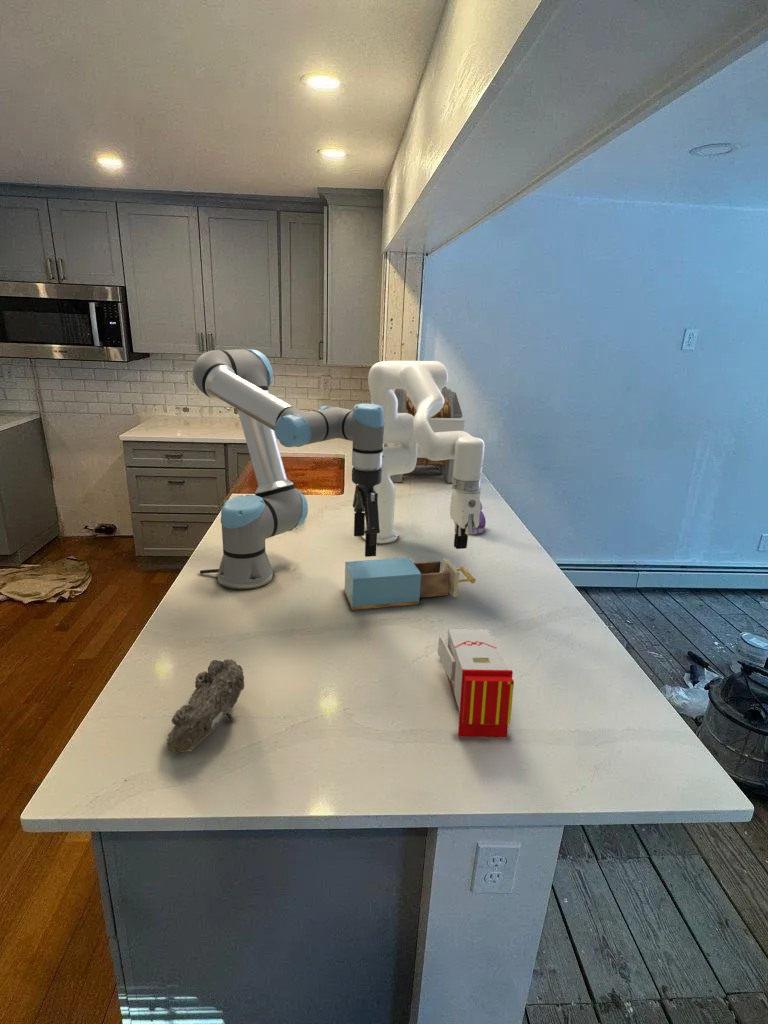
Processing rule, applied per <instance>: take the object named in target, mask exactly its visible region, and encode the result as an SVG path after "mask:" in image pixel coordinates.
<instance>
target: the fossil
mask: <svg viewBox="0 0 768 1024" xmlns="http://www.w3.org/2000/svg"><path fill="white" fill-rule="evenodd" d="M243 670H244V669H243V667H242V665H240V664H237V662H236V661H235V660H234V659H232V658H231V659H227V658H226V659H224V660H223V661H222V660H217V659H212V660H211V661H210V663H209V665H208V666H207V671H201V672H199V673H198V674H197V675H196V676H195V680H194V684H195V685H194V687H195V689H194V690H193V693H192V694H191V697H190V698H189V700H188V704H184V705H182V706H181V707H180V709H177V710H176V711H175V713H174V715H173V716H172V718H171V723H172V724H173V727H172V730H171V731H170V732H168V734H167V738H166V741H167V742H166V745H167V749H168V750H169V751H173V752H174V753H176V754H178V753H182V752H188V751H189V752H192V751H193V750H195V748H196V747H197V746H199V744H200V743H201V742H203V741H204V740H205V739H206V738H207V737H208V736H209V735H210V734H211V733H212V732H214V730H215V729H217V727H218V726H219V724H220V722H221V721H222V720H223V719H224V718H225V716H226V717H227V719H229V720H233V717H232V715H230V714H229V710H230V709H231V708H234V706H235V704H236V703H237V702H238V699H239V697H240V695H241V693H242V691H243V690H245V689H244V688H245V675H244V671H243Z"/></svg>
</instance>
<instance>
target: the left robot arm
mask: <svg viewBox="0 0 768 1024" xmlns="http://www.w3.org/2000/svg"><path fill="white" fill-rule="evenodd" d="M273 377H274V373H273V367H272V364H271V361H270V360H269V359H268V357H267V356H266V355H265V354H264V353H263V352H261V351H259V350H257V349H249V348H239V349H238V348H237V349H213V350H209V351H205V352H204V353H202V354H201V355H200V356H198V358H197V359H196V361H195V363H194V365H193V367H192V378H193V379H192V380H193V381H194V384H195V385H196V387H197V389H198V390H199V391H200V392H201V393H203V394H204V395H205V396H207V397H208V398H210V399H212V400H215V401H223V402H224V403H226V404H228V405H229V406H231V407H233V408H234V409H236V410H237V413H238V416H239V417H238V418H239V420H240V424H241V427H242V431H243V436H244V438H245V442H246V447H247V450H248V453H249V456H250V457H249V458H250V461H251V464H252V468H253V471H254V472H253V473H254V476H255V479H256V483H257V488H256V490H255V491H254V494H246V495H238V496H234V497H232V498H230V499H228V500H226V501H225V502H224V503H223V505H222V507H221V510H220V525H221V539H222V553H223V554H222V558H221V560H220V565H219V568H213V569H211V568H209V569H201V570H200V571H199V574H201V575H202V574H203V575H204V574H214V573H217V581H218V583H219V584H220V585H221V586H223V587H224V588H228V589H231V590H253V589H257V588H260V587H263V586H265V585H267V584H268V583H270V582H271V581H272V579H273V576H274V575H273V573H274V572H273V567H272V564H271V562H270V559H269V557H268V554H267V552H266V551H267V550H266V540H267V539H270V538H272V537H275V536H279V535H280V534H281V535H282V534H283V533H287V532H292V531H293V530H295V529H297V528H300V527H301V526H302V525H304V523H305V522H306V519H307V517H308V514H309V505H308V501H307V497H306V495H305V494H303V492H302V491H301V490H299V489H297V488H296V487H295V484H294V482H292V481H291V480H289V479H288V477H287V474H286V470H285V466H284V462H283V459H282V455H281V451H280V448H279V444H280V445H282V446H283V447H285V448H300V447H303V446H307V445H311V444H317V443H321V442H325V441H330V440H335V439H341V440H345V441H351V442H352V450H351V465H352V468H351V482H352V483H353V484H355V488H354V494H353V501H352V508H353V511H354V514H353V515H354V516H353V518H354V519H353V520H354V523H353V536H354V537H362V536H364V533H365V534H366V538H365V540H364V542H365V543H364V557H365V558H369V557H370V558H371V557H377V544H378V543H377V533H380V529H379V516H378V494H377V493H376V492H375V491H374V488H373V487H374V486H375V485H378V484H380V483H381V481H382V469H381V468H380V467H381V466H382V458H383V457H384V456H385V455H384V454H383V447H384V444H383V434H384V425H385V422H384V409H383V407H381V406H380V405H376V404H371V403H357V404H355V405H354V407H353V409H348V408H343V407H342V408H341V407H339V406H336V405H323V406H320V407H319V408H318V409H316V410H312V411H302V410H301V409H299V408H297V407H295V406H293V405H291V404H289V403H287V402H286V401H284V400H283V399H280V398H279V397H276V396H275V395H273V394H271V393H270V390H269V388H270V386H271V385H272V382H273ZM278 442H279V444H278ZM365 522H366V527H367V530H365V531H364V526H365Z"/></svg>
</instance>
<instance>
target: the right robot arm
mask: <svg viewBox="0 0 768 1024" xmlns="http://www.w3.org/2000/svg"><path fill="white" fill-rule="evenodd" d="M367 377H368V378H367V383H368V384H367V385H368V390H369V394H370V399H371V400H370V402H371V403H370V404H376V405H380V406H381V407H383V409H384V422H385V425H384V434H383V445H384V444H385V443H398V442H399V446H389V447H384V446H383V454H384V455H385V456H384V457H383V458H382V466H381V467H380V468H381V469H382V481H381V483H380V484H378V485H375V486H374V487H373V488H374V491H375V492H376V493H377V494H378V516H379V529H380V533H377V544H389V543H393V542H395V541H397V540H398V537H399V534H398V532H397V531H396V530H395V528H394V527H395V510H396V509H395V508H396V507H395V506H396V485H395V484H394V482H392V481H391V479H390V476H391V475H397V474H403V475H404V474H409V473H412V472H413V471H414V470H415V468H416V467H417V466H416V462H417V447H418V446H419V448H420V450H421V452H422V453H423V455H424V456H425V457H426V458H427V459H429V460H432V461H439V460H447V459H454V467H453V478H452V483H451V490H452V493H451V499H450V507H449V517H450V519H451V520H452V521H453V523H454V537H453V538H454V539H453V547H454V548H455V549H456V550H462V549H467V547H468V540H469V539H468V537H469V535H473V534H472V526H474V527H475V528H477V527H478V526H479V514H480V501H481V499H480V498H481V495H480V496H479V491H481V484H482V475H483V466H484V457H485V456H484V455H485V448H486V447H485V442H484V440H483V439H482V438H480V437H476V436H472V435H471V434H470V433H468V432H467V431H465V430H464V431H448V432H435V433H434V432H433V430H432V429H431V427H430V425H429V423H428V421H427V419H429V418H430V417H432V416H434V415H435V414H437V413H438V412H439V411H440V410H441V409H442V407H443V405H444V397H443V396H442V394H441V392H442V391H441V390H442V388H444V387H447V384H448V381H449V373H448V370H447V368H446V366H445V364H444V363H442V362H440V361H438V360H383V361H379V362H376V363H374V364H373V365H371V367H370V369H369V372H368V375H367ZM396 389H404V390H405V391H406V393H407V396H409V398H410V400H411V402H412V404H413V406H414V408H415V409H416V411H417V412H416V415H415V417H414V416H413V415H411V414H409V413H398V400H397V397H396V395H395V393H394V392H395V391H394V390H396ZM365 530H367V527H366V521H365V526H364V531H365ZM361 538H362V539H363V540H364V541H365V538H366V534H365V533H364V536H361Z"/></svg>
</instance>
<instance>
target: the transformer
mask: <svg viewBox="0 0 768 1024" xmlns="http://www.w3.org/2000/svg"><path fill="white" fill-rule="evenodd" d="M393 392H394V393H395V395H396V397H397V400H398V413H409V414H411V415H413V416H414V417H415V415H416V412H417V411H416V409H415V408H414V406H413V404H412V402H411V400H410V398H409V396H408V394H407V392H406V391H405V389H394V391H393ZM440 392H441V394H442V396H443V397H444V405H443V407H442V409H441V410H440V411H439V412H438V413H437V414H435V415H434V416H432V417H430V418H429V419H427V421H428V423H429V425H430V427H431V429H432V430H433V432H434V433H435V432H448V431H464V432H465V430H464V429H465V419H464V418H463V411H462V408H461V405H460V402H459V398H458V395H457V392H455V391H453V390H452V389H451V388H447V386H445V387H444V388H442V389H441V391H440ZM389 446H399V442H398V443H385V444H383V447H389ZM417 466H418V467H436V468H437V470H438V469H439V473H440V474H441V475H443V478H444V479H445V481H446V482H447V483H449V484H452V478H453V467H454V459H447V460H439V461H432V460H429V459H427V458H426V457H425V456H424V455H423V453H422V452H421V450H420V448H419V446H418V447H417V462H416V466H415V467H417ZM403 475H404V474H397V475H391V476H390V479H391V481H392V482H393V483H402V482H403Z"/></svg>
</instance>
